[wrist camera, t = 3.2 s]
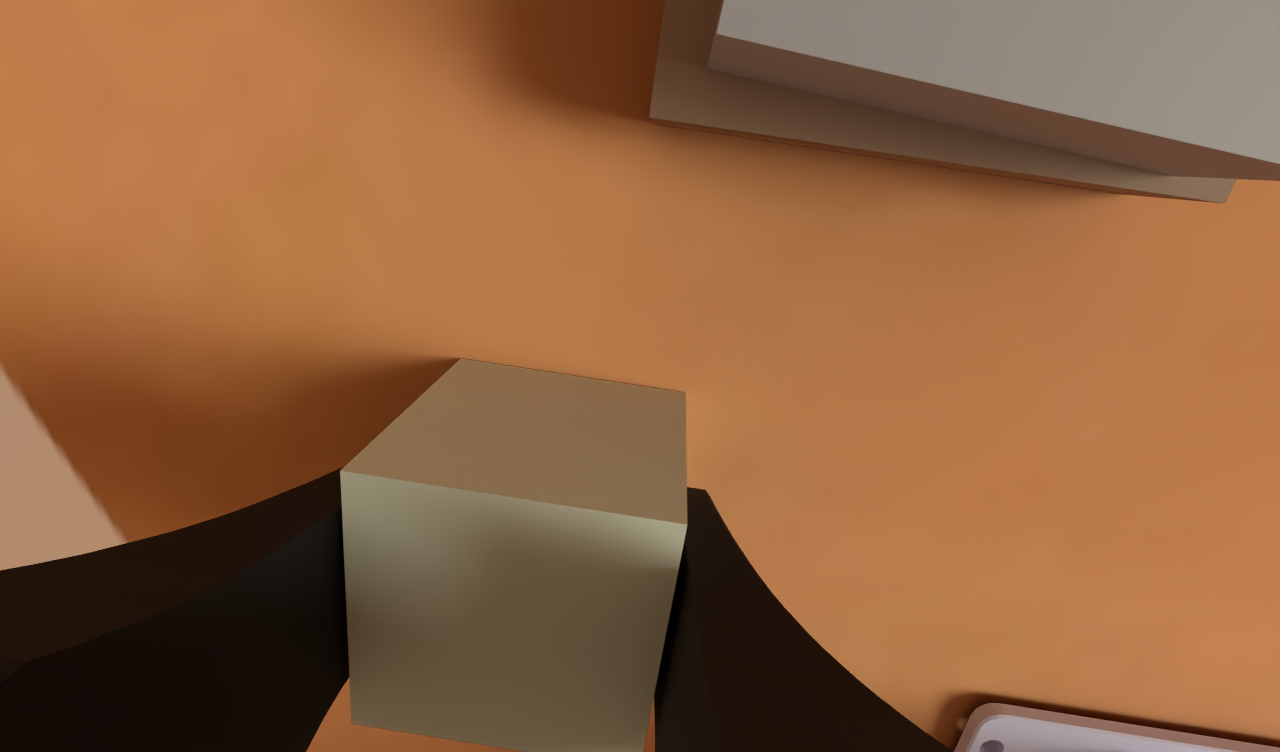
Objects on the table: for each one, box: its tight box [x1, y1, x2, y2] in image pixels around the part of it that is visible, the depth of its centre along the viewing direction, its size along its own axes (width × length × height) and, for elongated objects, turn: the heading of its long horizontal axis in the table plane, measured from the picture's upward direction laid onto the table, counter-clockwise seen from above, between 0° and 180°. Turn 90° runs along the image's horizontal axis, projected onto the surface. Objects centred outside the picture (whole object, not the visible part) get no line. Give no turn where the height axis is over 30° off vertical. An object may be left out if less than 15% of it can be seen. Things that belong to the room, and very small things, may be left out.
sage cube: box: [340, 358, 687, 752], centre depth 11 cm, size 4×4×4 cm
